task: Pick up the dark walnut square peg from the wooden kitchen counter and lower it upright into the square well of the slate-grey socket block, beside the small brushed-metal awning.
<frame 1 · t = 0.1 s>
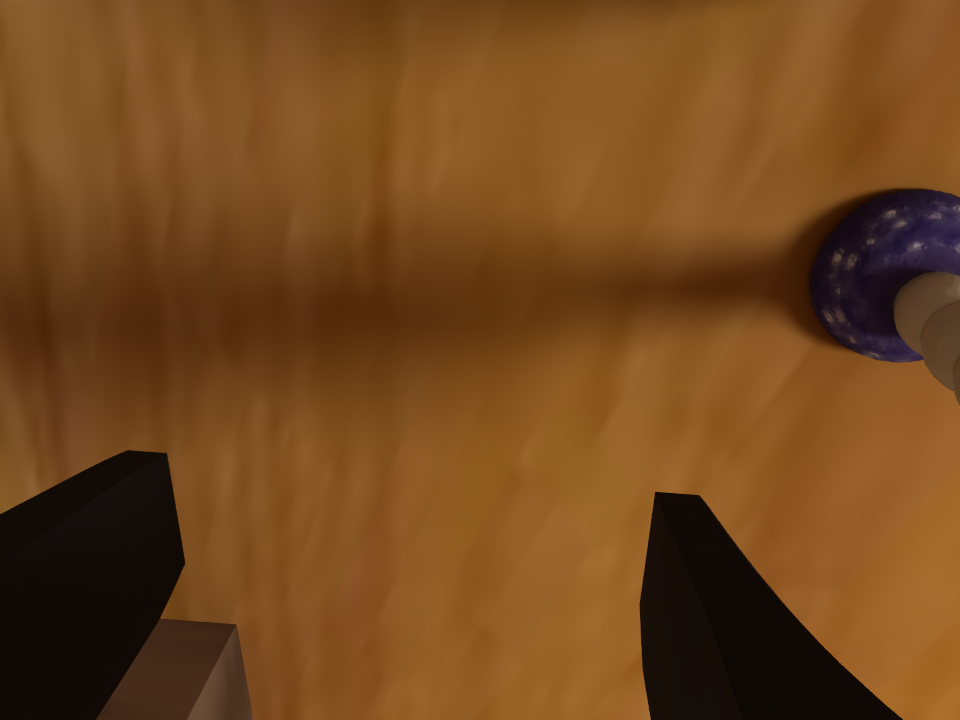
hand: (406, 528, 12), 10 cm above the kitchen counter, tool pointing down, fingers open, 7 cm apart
walnut peg: (177, 673, 28), on the kitchen counter
toy lamp: (893, 285, 20), on the kitchen counter
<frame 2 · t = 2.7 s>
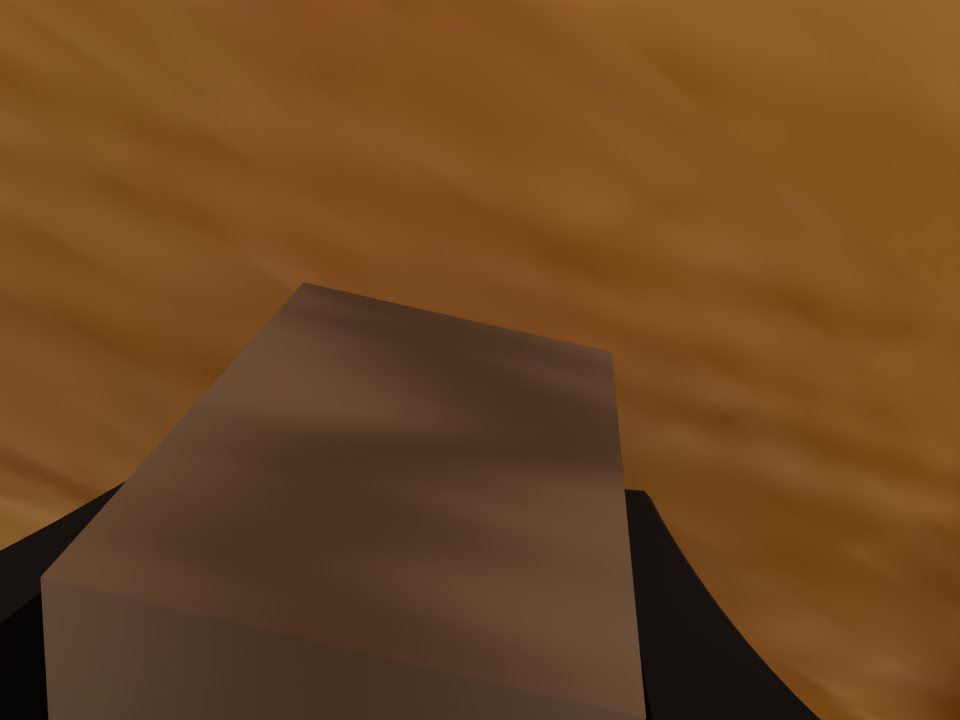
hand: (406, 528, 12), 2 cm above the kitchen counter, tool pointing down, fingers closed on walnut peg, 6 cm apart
walnut peg: (430, 448, 14), on the kitchen counter, touching gripper
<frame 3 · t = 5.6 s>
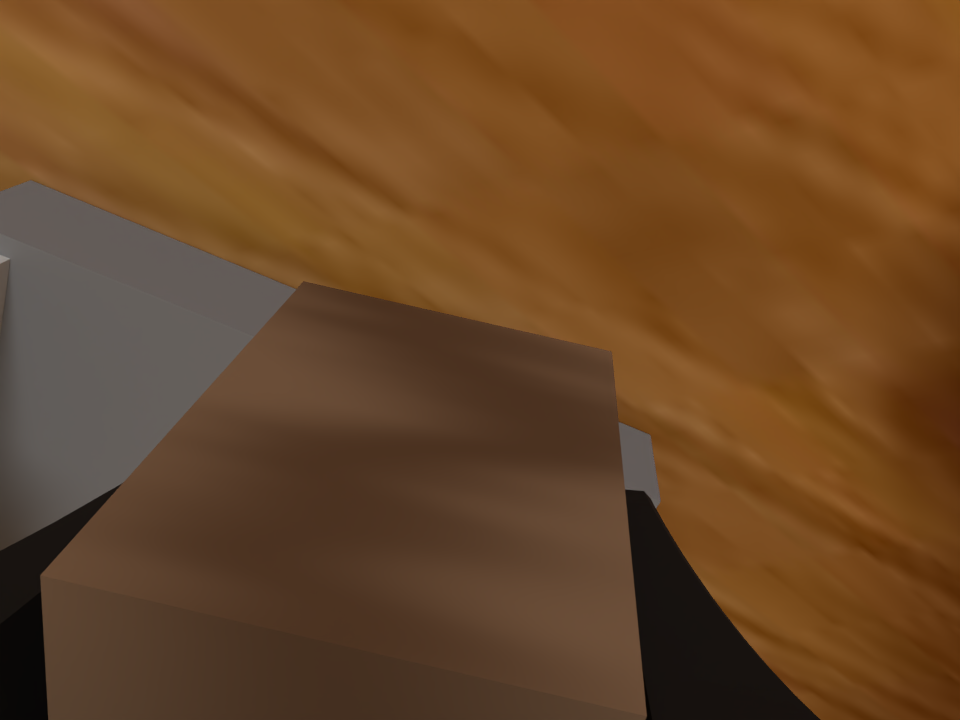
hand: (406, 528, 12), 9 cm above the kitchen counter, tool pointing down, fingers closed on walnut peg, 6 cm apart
walnut peg: (430, 447, 14), point 7 cm above the kitchen counter, touching gripper
socket block: (389, 512, 23), on the kitchen counter
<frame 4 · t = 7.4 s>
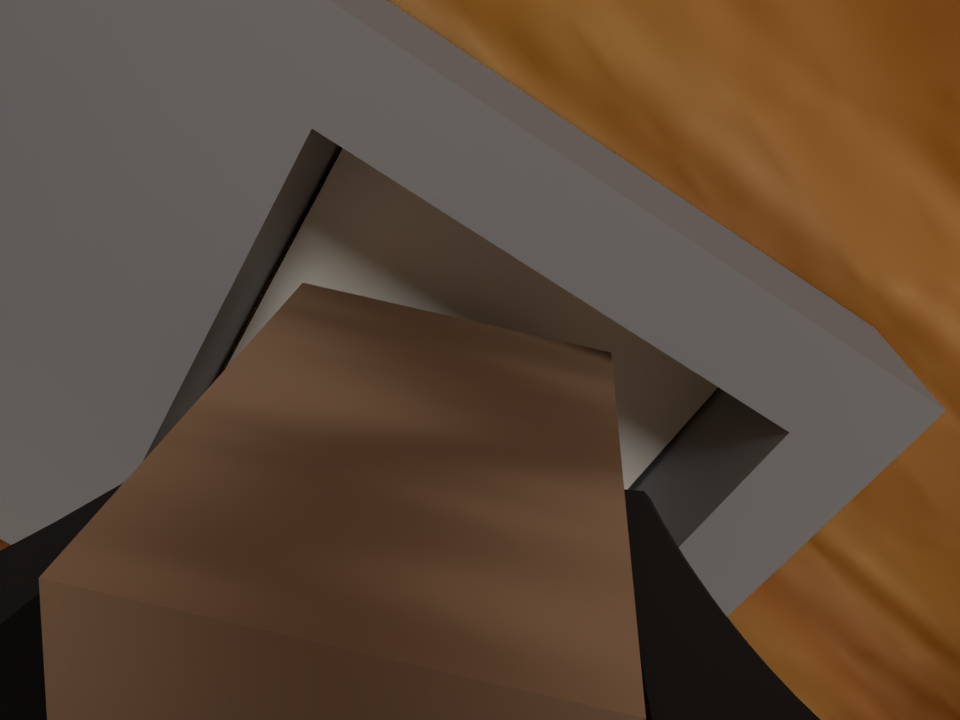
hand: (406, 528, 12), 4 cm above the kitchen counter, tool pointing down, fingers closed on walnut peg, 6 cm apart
walnut peg: (430, 448, 14), point 2 cm above the kitchen counter, touching gripper
socket block: (447, 396, 16), on the kitchen counter
when the fingers open (3 cm above the kitchen counter, at t = 8.6 s): walnut peg stays where it is, resting on socket block.
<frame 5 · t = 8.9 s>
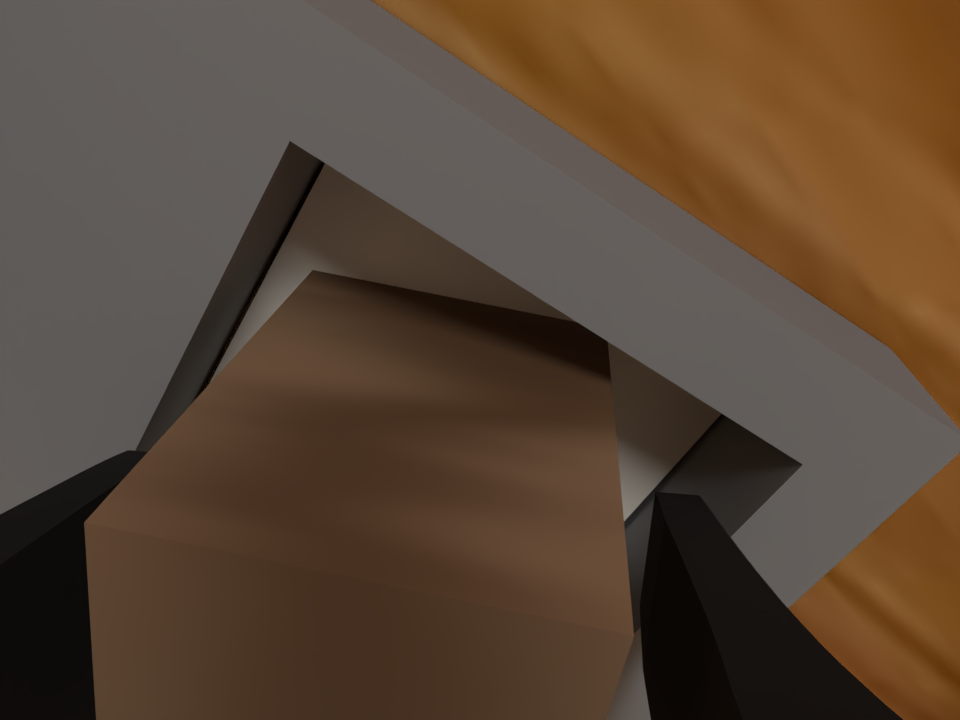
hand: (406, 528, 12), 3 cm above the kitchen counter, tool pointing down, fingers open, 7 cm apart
walnut peg: (437, 426, 15), resting on socket block
socket block: (439, 418, 15), on the kitchen counter
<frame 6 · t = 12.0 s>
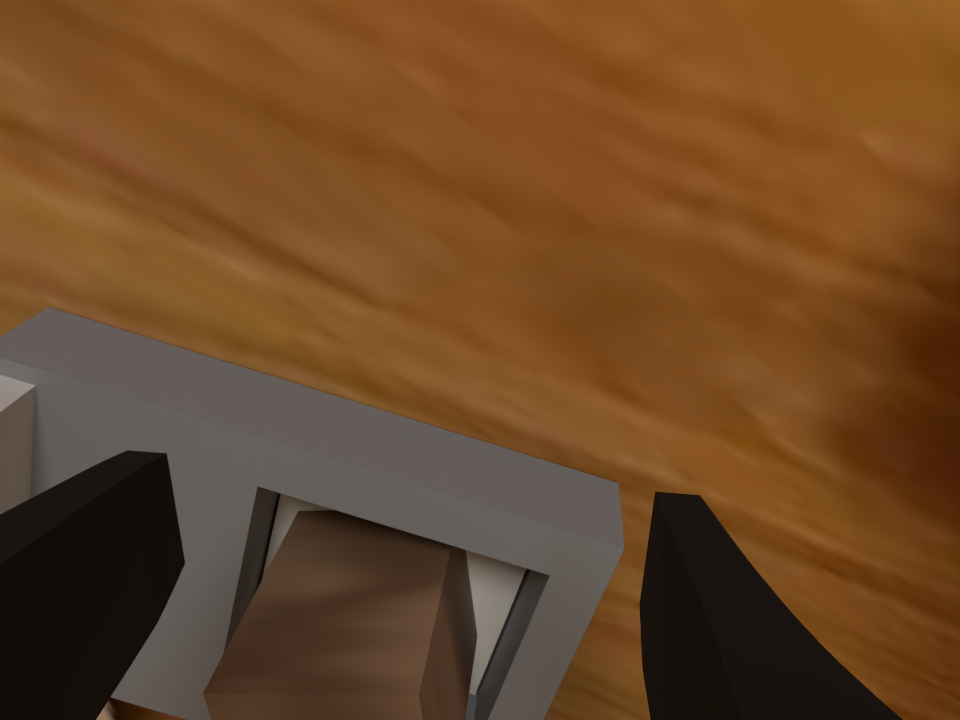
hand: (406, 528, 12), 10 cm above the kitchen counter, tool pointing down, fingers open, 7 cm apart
walnut peg: (390, 575, 25), resting on socket block
socket block: (392, 569, 26), on the kitchen counter
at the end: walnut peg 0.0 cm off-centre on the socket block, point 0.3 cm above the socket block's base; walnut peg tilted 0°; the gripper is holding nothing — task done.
